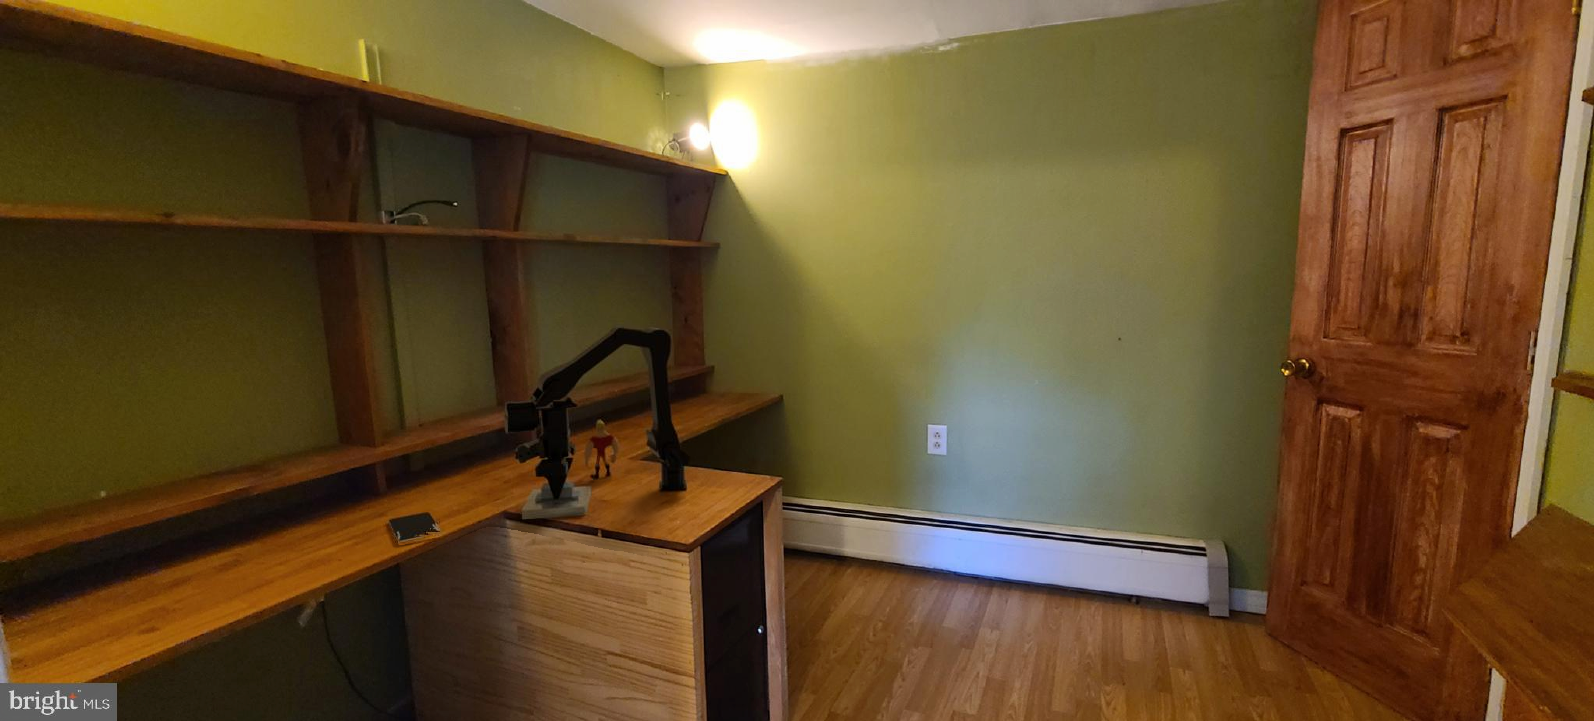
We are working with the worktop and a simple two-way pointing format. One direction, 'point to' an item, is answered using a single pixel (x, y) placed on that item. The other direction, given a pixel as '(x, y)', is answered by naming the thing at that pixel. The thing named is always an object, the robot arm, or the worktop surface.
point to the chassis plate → (556, 505)
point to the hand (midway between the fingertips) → (558, 495)
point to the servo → (565, 495)
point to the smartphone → (413, 526)
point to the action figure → (601, 448)
